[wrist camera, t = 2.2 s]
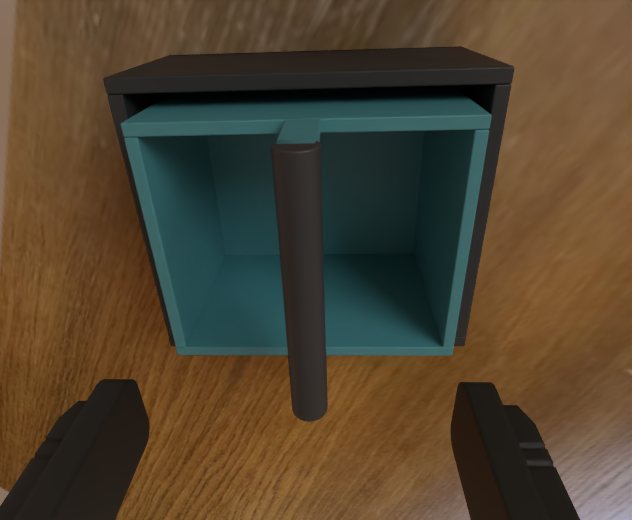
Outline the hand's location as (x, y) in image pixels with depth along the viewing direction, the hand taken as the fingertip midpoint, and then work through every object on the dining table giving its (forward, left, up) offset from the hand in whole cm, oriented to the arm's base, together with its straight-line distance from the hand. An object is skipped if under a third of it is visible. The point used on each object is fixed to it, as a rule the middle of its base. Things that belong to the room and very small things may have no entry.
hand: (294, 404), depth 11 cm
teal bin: (0, 0, -17) cm, 17 cm away
